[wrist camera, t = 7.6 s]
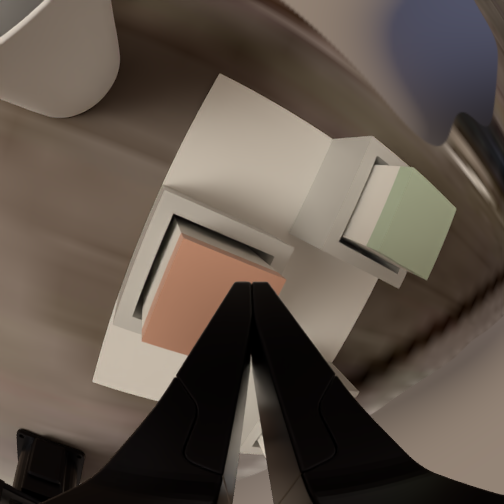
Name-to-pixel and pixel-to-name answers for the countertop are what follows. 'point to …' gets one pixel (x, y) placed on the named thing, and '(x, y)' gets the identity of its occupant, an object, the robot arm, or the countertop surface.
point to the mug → (57, 54)
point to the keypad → (257, 231)
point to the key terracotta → (195, 282)
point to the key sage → (400, 219)
